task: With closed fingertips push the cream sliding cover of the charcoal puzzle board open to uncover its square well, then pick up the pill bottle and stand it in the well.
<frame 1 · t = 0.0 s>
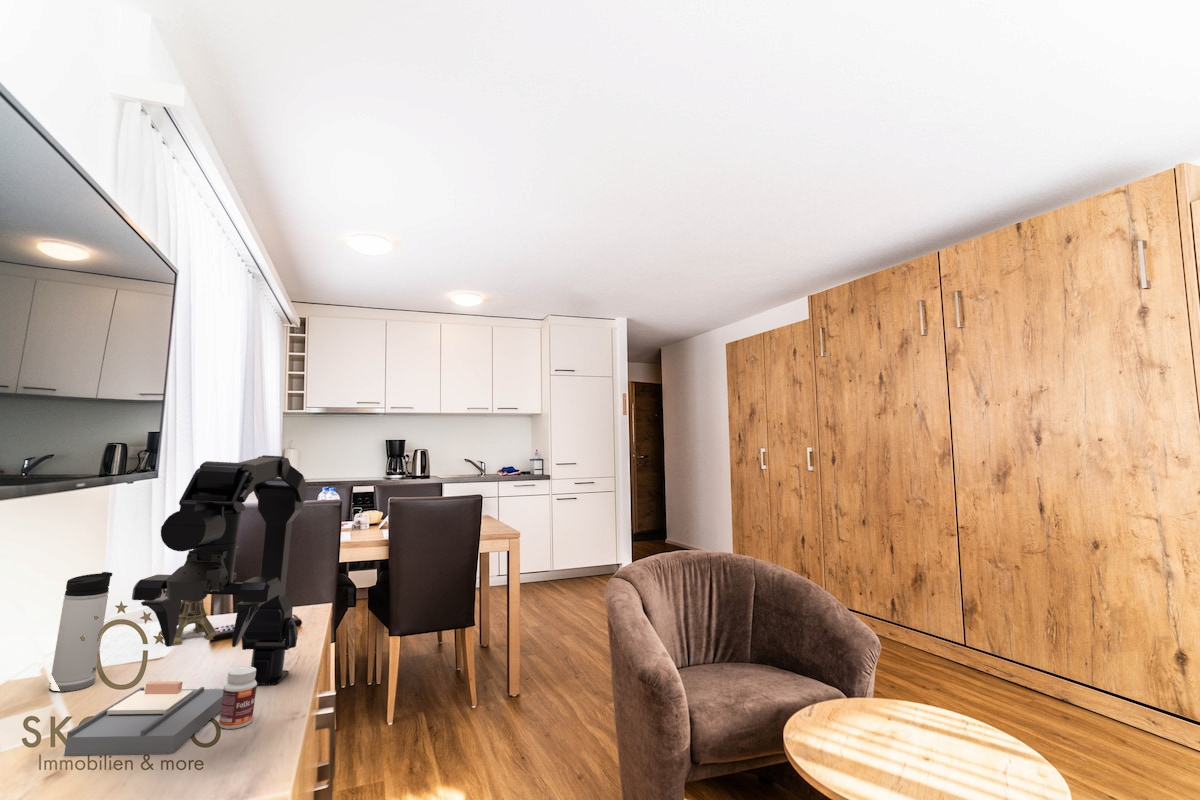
hand: (202, 646, 88), 15 cm above the table, fingers open, 9 cm apart
pill bottle: (235, 724, 95), on the table
board: (155, 727, 92), on the table
eiffel tower: (187, 638, 137), on the table
travel mug: (73, 686, 106), on the table
cover: (152, 696, 94), point 4 cm above the table, slide at 0.0 cm
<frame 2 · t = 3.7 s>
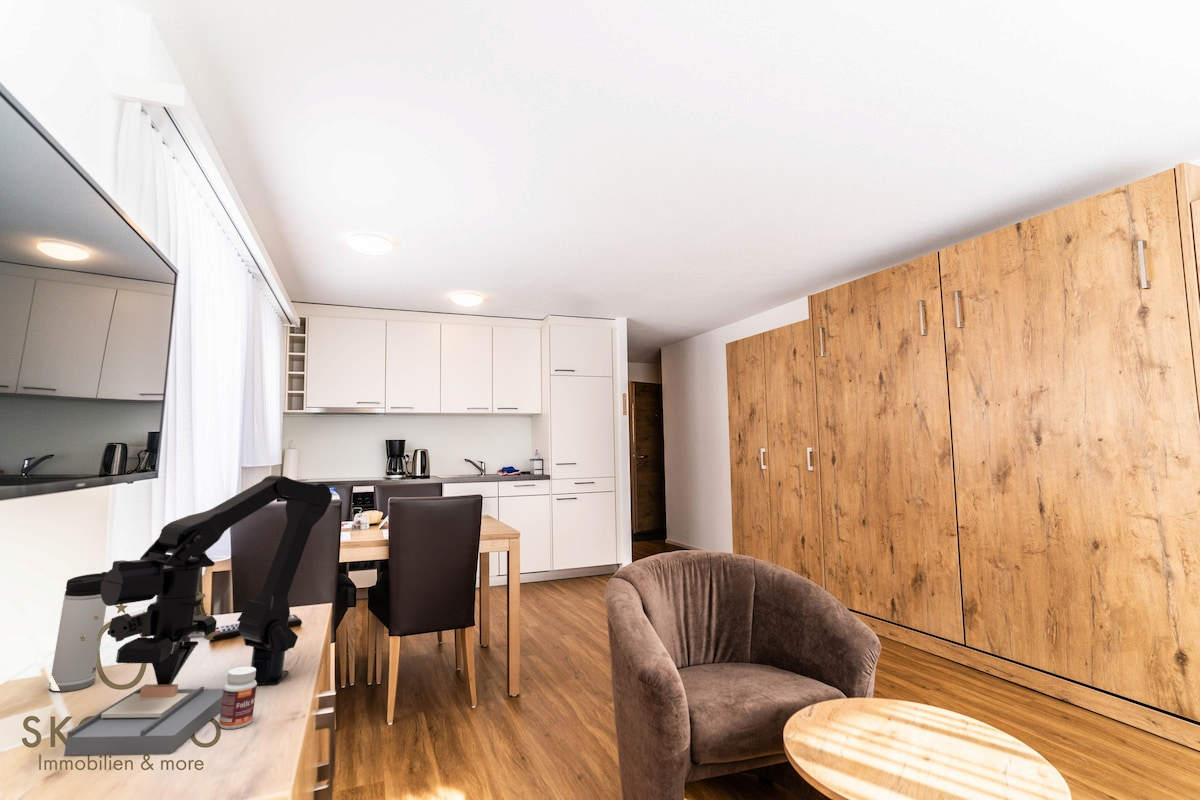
hand: (163, 690, 97), 4 cm above the table, fingers closed
cover: (148, 699, 93), point 4 cm above the table, slide at 1.3 cm, touching gripper
everything else where it was.
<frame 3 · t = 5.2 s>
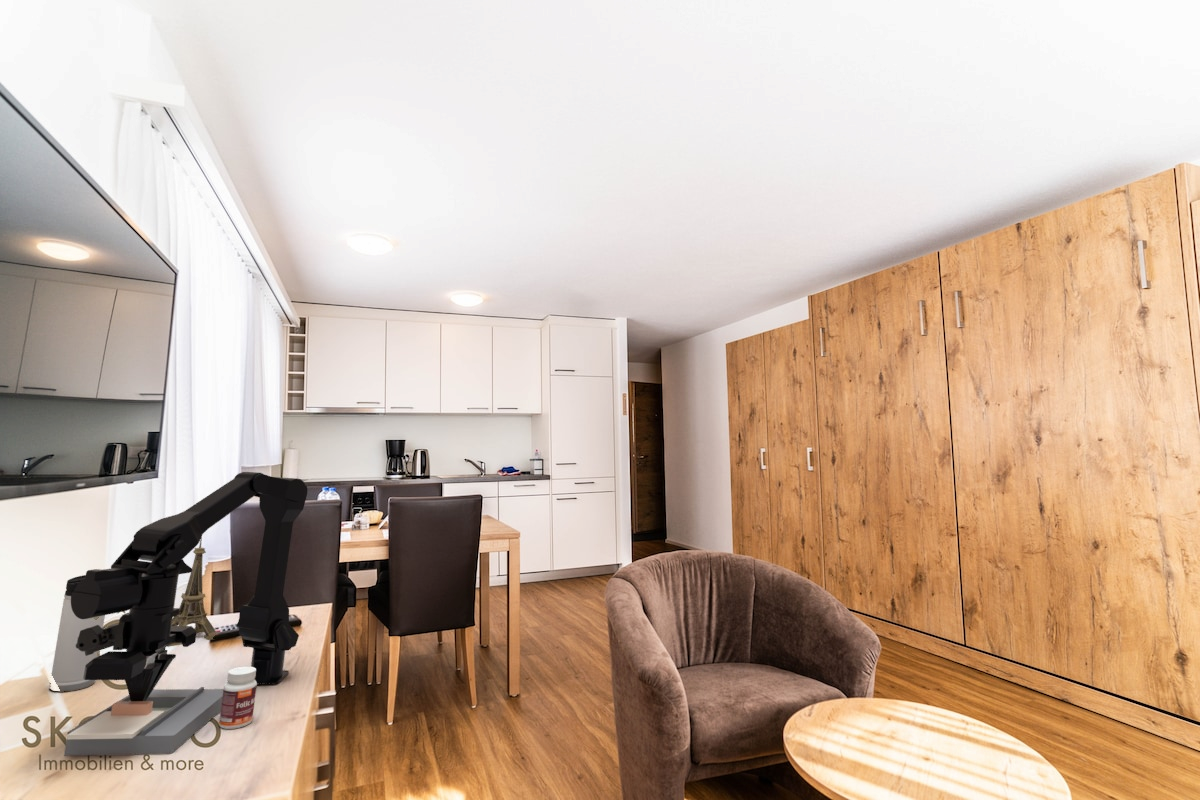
hand: (137, 707, 90), 4 cm above the table, fingers closed
cover: (119, 718, 86), point 4 cm above the table, slide at 8.4 cm, touching gripper
everything else where it was.
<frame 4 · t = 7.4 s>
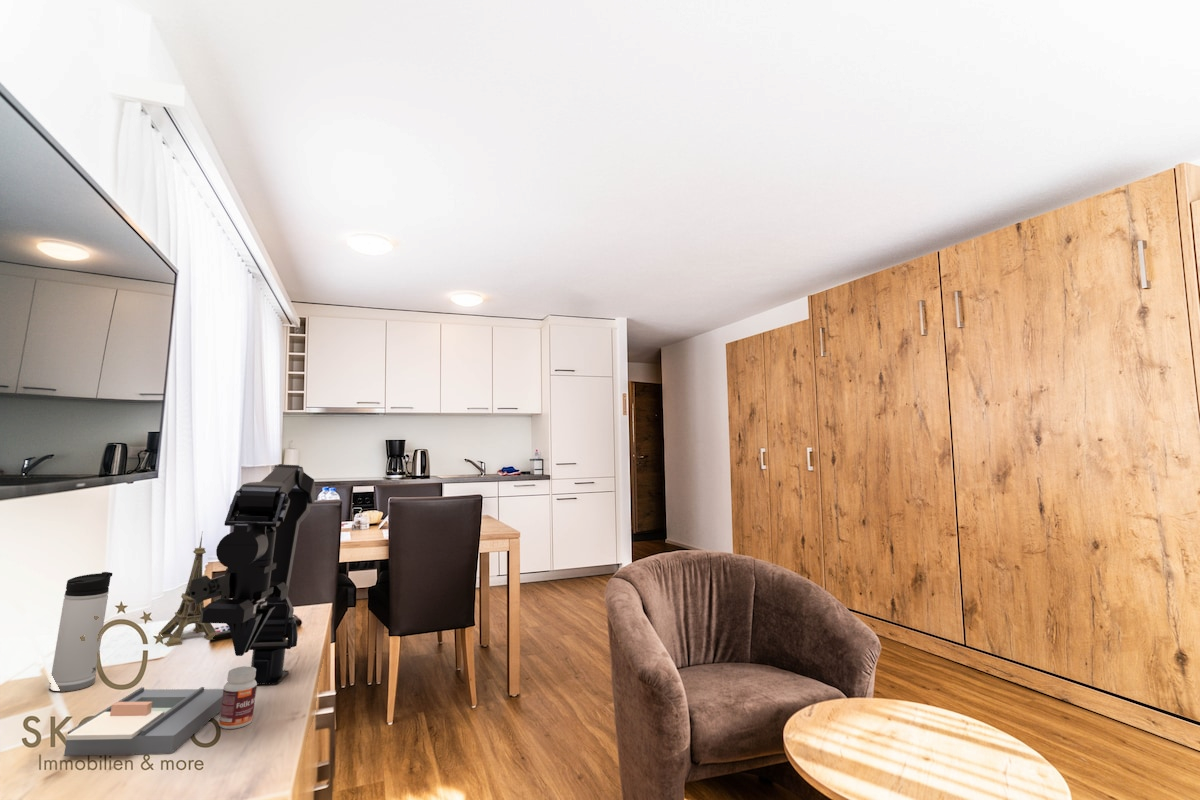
hand: (241, 653, 96), 11 cm above the table, fingers closed
cover: (118, 719, 86), point 4 cm above the table, slide at 8.6 cm
everything else where it was.
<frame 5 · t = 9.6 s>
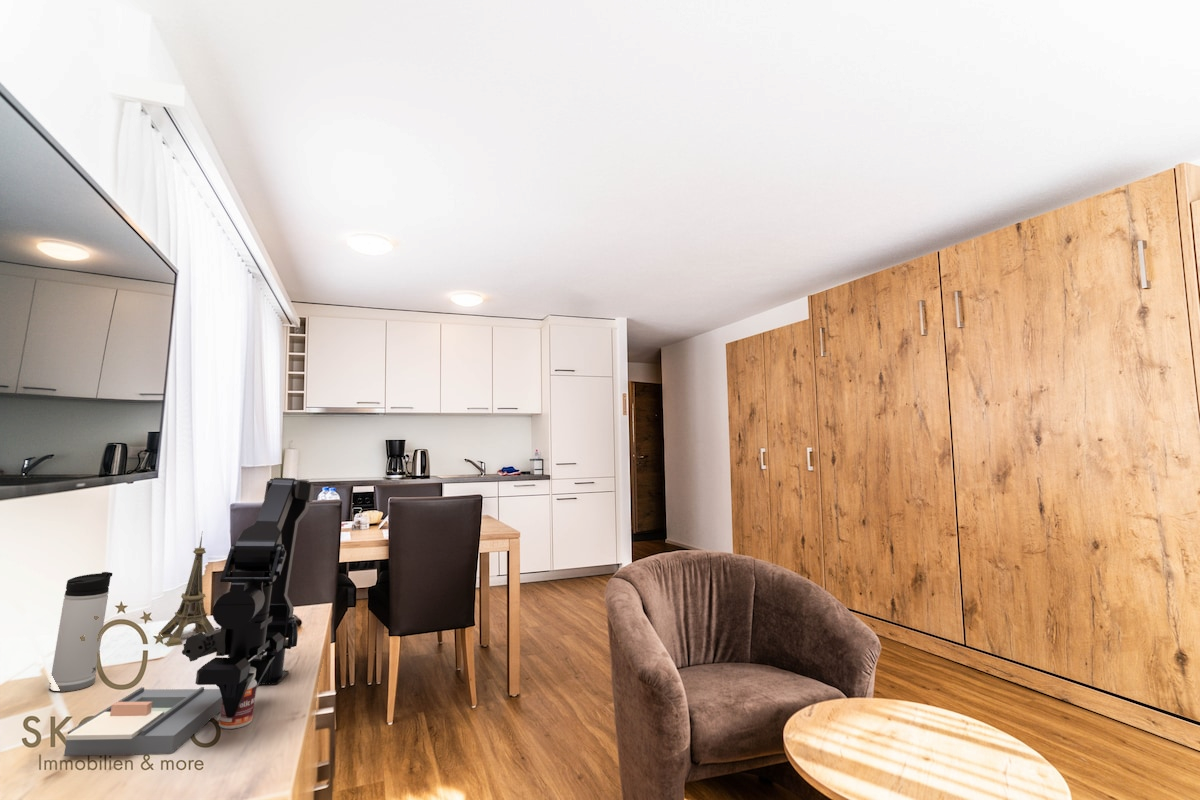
hand: (237, 710, 95), 2 cm above the table, fingers closed on pill bottle, 5 cm apart
pill bottle: (235, 724, 95), on the table, touching gripper
everything else where it was.
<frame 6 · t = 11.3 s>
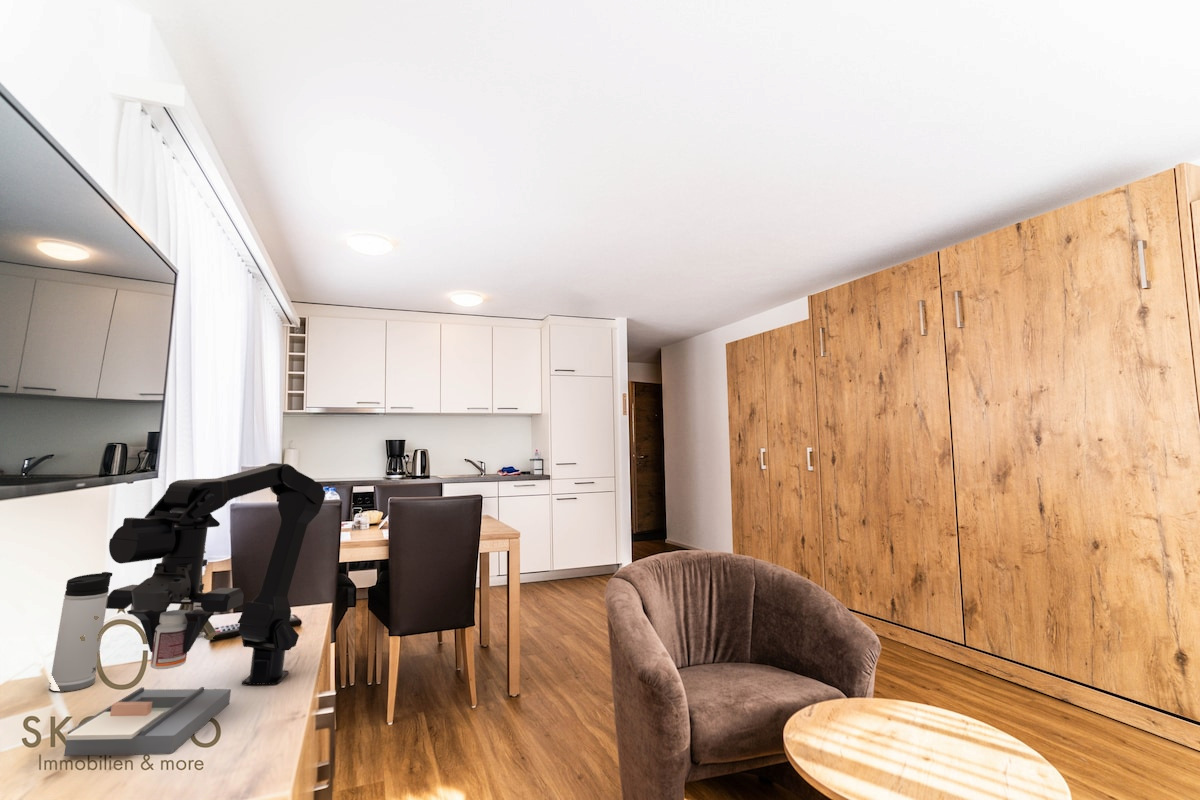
hand: (169, 651, 95), 11 cm above the table, fingers closed on pill bottle, 5 cm apart
pill bottle: (167, 666, 95), point 9 cm above the table, touching gripper
everything else where it was.
when the fingers open (4 cm above the table, at t = 13.1 s): pill bottle stays where it is, resting on board.
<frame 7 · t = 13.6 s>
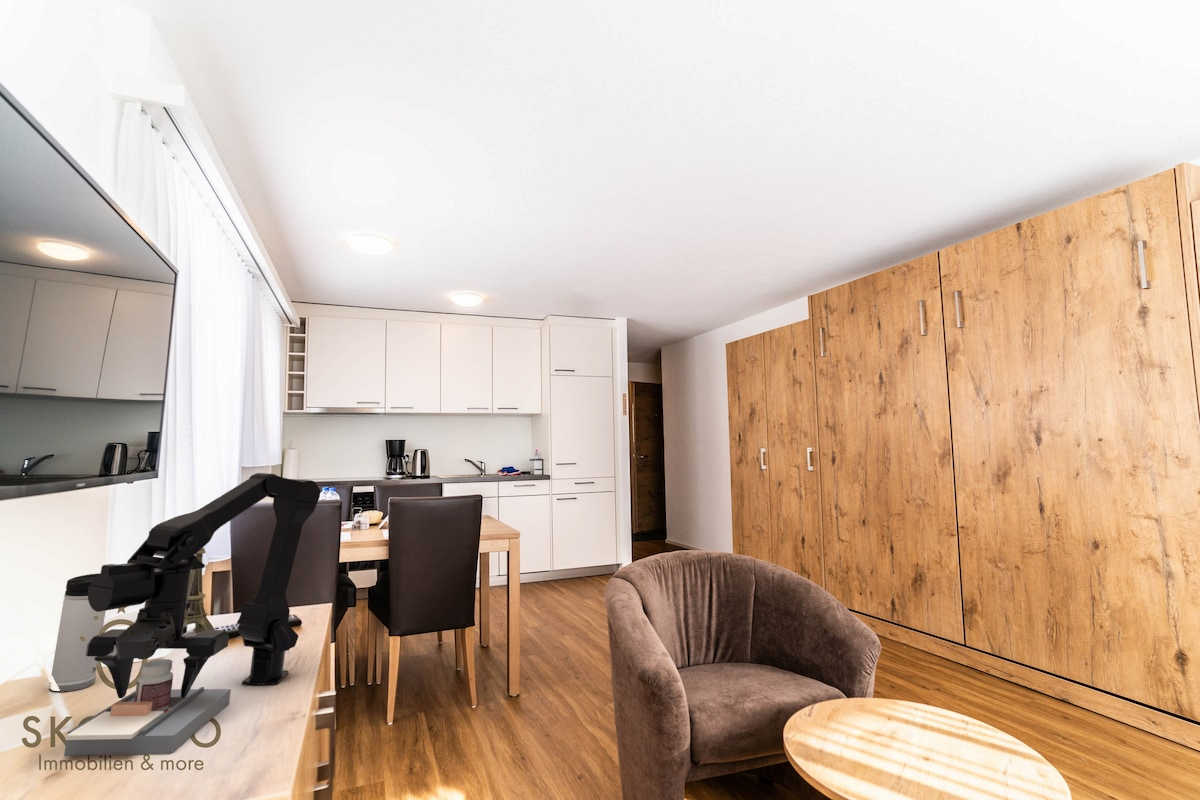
hand: (152, 697, 94), 4 cm above the table, fingers open, 9 cm apart
pill bottle: (149, 717, 94), point 1 cm above the table, touching board
everything else where it was.
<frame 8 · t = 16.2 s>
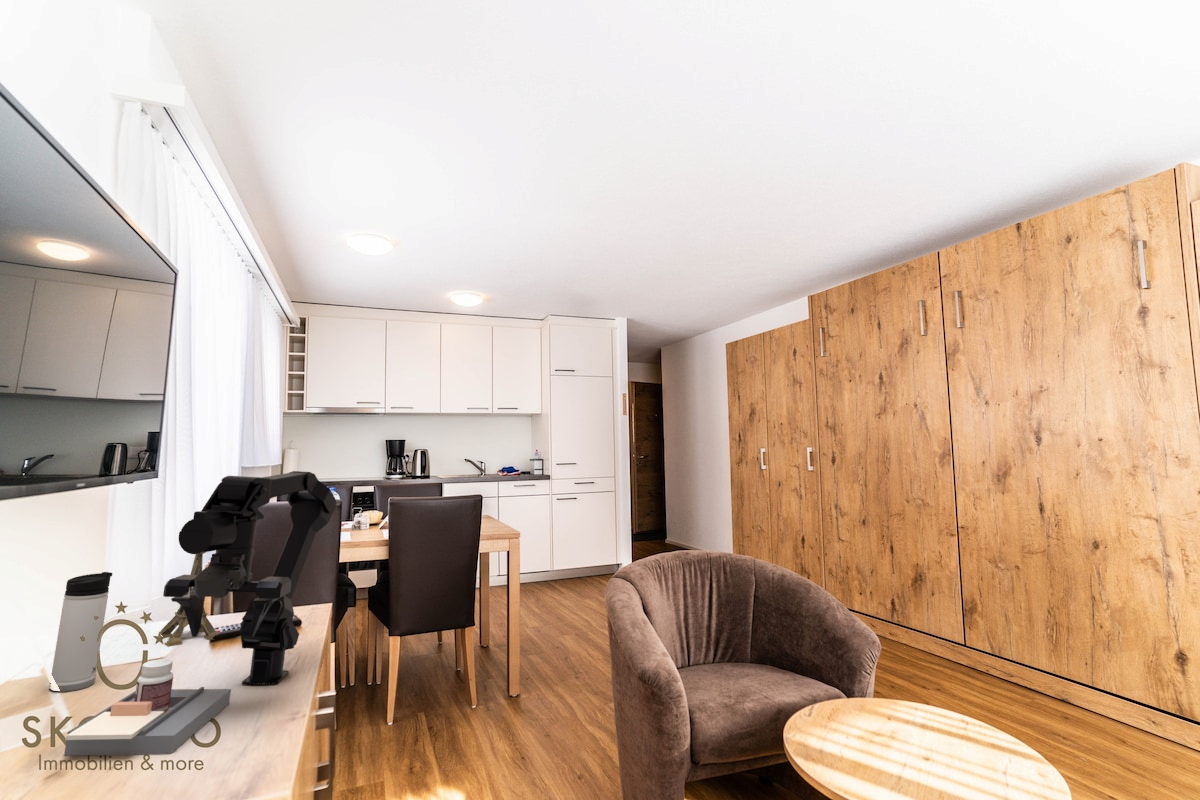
hand: (223, 636, 101), 12 cm above the table, fingers open, 9 cm apart
nothing on the table moved.
at the end: cover slide at 8.6 cm; pill bottle 0.0 cm from the target spot on the board, point 0.6 cm above the board's base; pill bottle tilted 0° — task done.
